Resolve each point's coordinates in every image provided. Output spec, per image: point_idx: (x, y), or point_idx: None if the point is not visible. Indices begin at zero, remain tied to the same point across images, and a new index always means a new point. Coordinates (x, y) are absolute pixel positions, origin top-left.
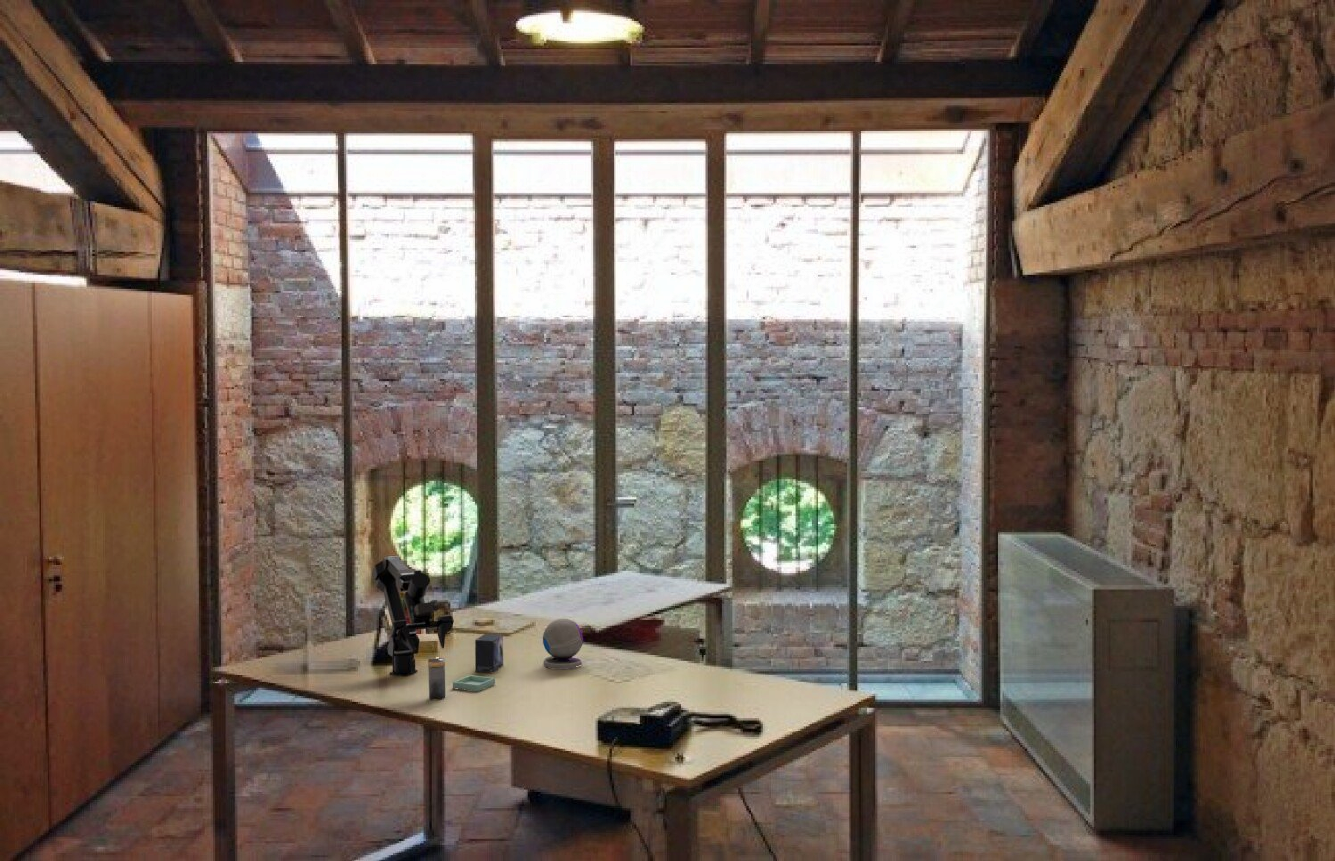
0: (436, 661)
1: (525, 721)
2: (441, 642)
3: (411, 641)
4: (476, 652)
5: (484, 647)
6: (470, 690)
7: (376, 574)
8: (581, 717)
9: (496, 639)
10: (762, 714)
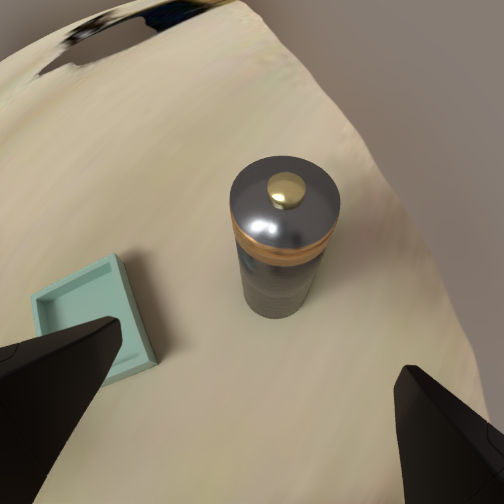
0: (306, 160)
1: (220, 54)
2: (90, 356)
3: (455, 417)
4: None
5: None
6: (131, 291)
7: None
8: (147, 49)
9: None
10: (53, 40)
